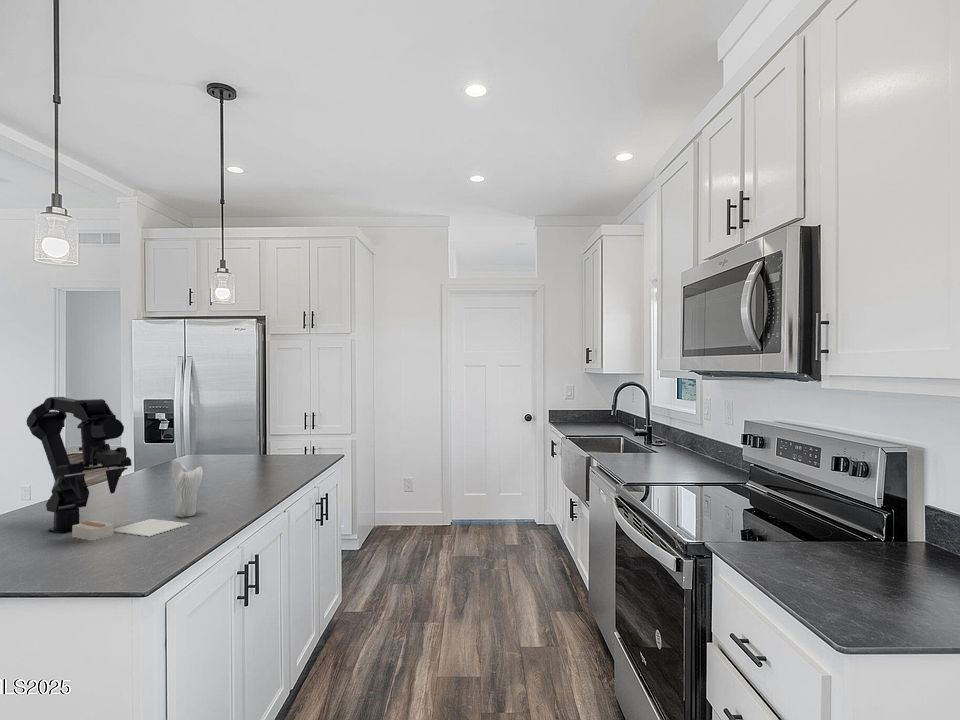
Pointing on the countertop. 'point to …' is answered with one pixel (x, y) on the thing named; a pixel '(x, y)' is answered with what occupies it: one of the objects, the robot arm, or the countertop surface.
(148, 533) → the mat
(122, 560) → the countertop surface
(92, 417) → the robot arm
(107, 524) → the card box
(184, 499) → the shell sculpture
